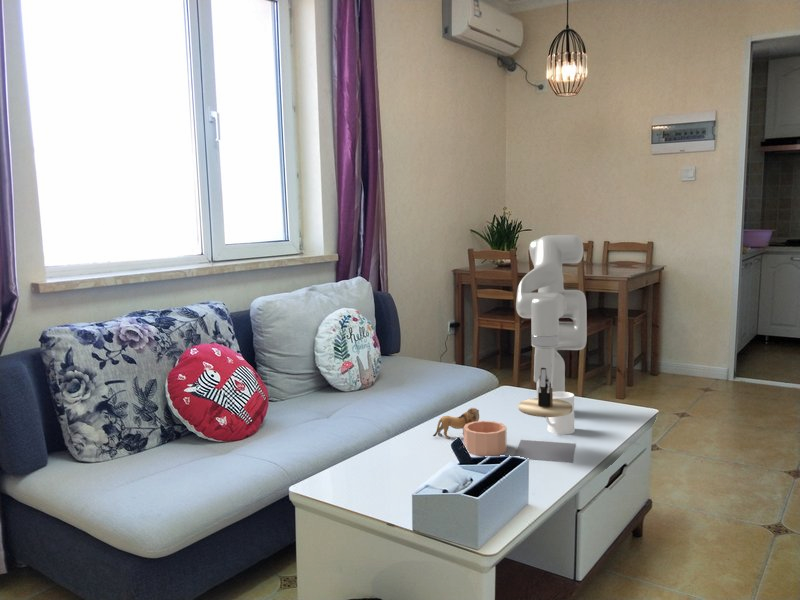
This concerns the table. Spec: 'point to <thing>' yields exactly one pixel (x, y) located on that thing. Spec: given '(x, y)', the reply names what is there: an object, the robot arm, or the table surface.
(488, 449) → the bowl
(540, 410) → the lid
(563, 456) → the mat
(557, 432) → the mug
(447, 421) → the lion figurine
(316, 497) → the table surface
